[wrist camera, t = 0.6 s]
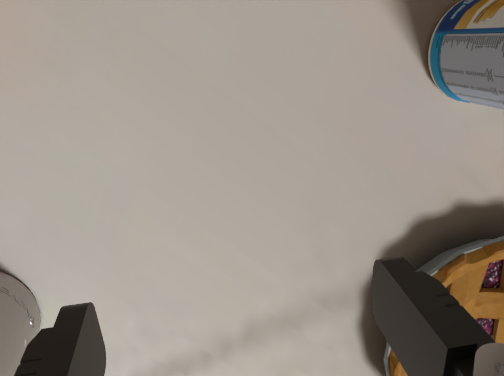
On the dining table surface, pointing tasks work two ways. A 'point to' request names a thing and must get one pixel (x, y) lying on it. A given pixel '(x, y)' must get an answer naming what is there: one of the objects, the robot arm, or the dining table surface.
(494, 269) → the pie
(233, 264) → the dining table surface
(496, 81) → the beverage bottle
